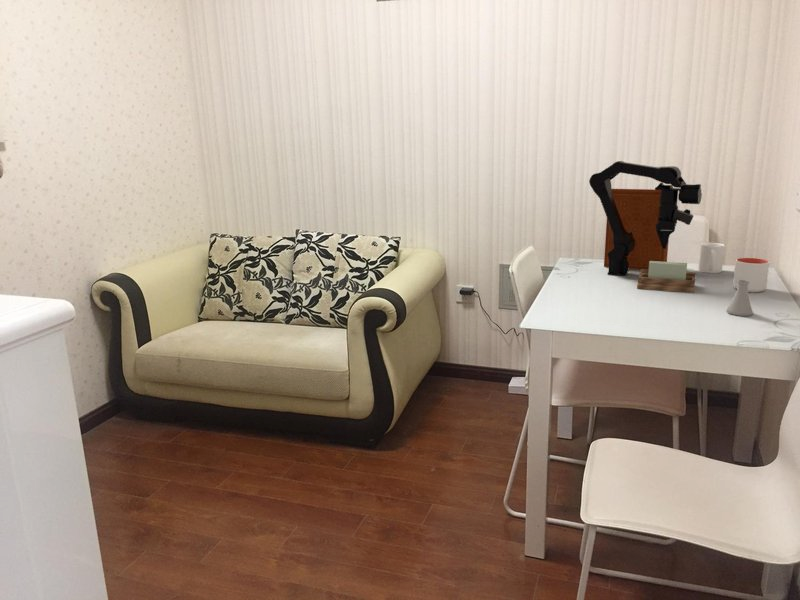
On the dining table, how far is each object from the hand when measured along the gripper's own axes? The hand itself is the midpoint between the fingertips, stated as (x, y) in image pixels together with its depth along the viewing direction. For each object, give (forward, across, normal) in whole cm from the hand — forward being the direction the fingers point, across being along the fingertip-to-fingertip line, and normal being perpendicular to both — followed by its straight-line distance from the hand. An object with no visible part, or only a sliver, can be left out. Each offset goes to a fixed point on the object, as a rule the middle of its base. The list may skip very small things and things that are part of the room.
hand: (664, 246), depth 240 cm
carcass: (+12, -12, -2) cm, 17 cm away
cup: (+12, -7, -28) cm, 31 cm away
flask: (+12, -39, -24) cm, 47 cm away
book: (+12, +18, +11) cm, 24 cm away
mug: (+12, +17, -16) cm, 26 cm away
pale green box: (+10, -12, -2) cm, 16 cm away
